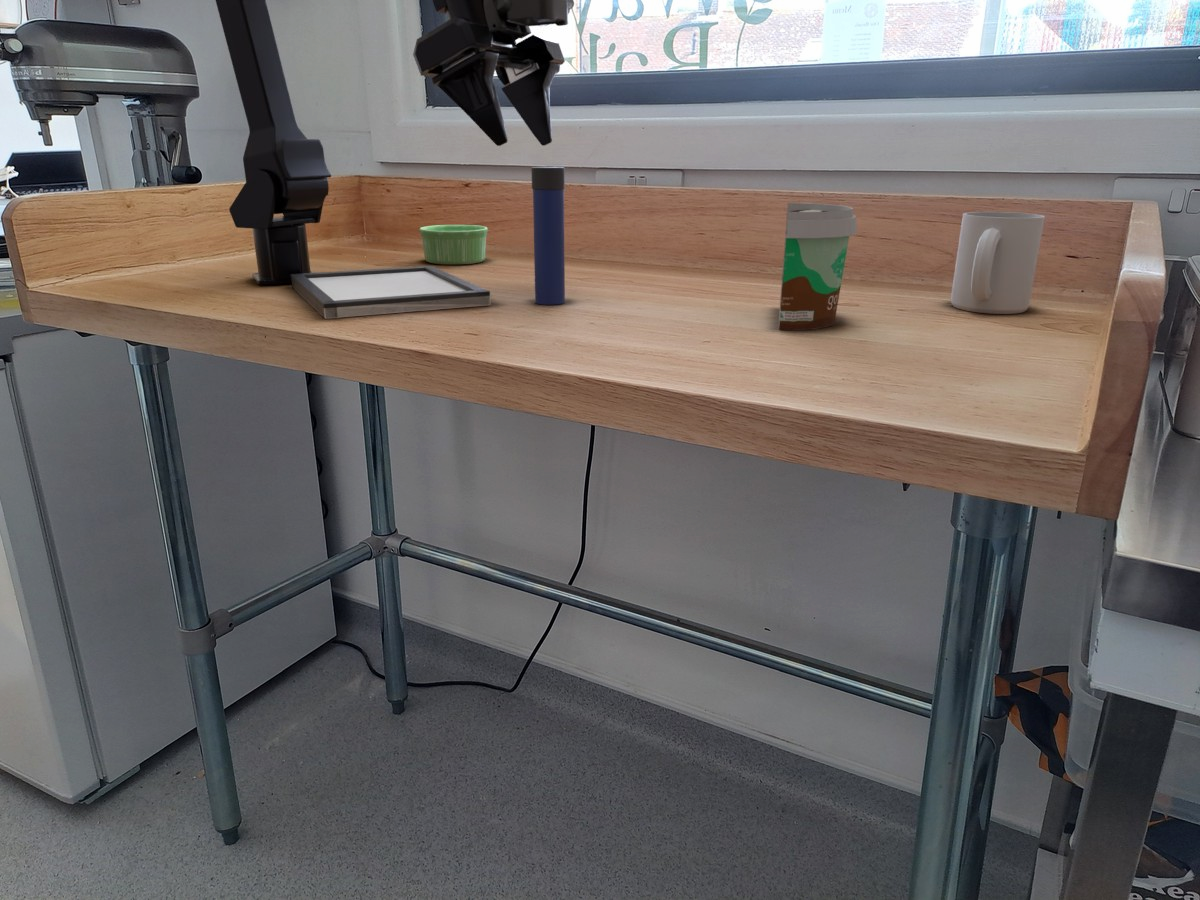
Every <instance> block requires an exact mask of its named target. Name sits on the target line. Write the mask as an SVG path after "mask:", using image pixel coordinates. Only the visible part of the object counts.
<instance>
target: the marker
mask: <svg viewBox="0 0 1200 900" xmlns="http://www.w3.org/2000/svg"><path fill="white" fill-rule="evenodd" d="M565 180H566V168H565V167H563V166H532V167H531V189H532V208H533V209H532V211H533V212H532V213H533V215H532V216H533V217H532V218H533V256H534V257H533V260H534V263H533V265H534V296H535V297H534V303H536V304H537V305H544V306H555V305H562V304H565V302H566V279H565V277H566V276H565V275H566V273H565V272H566V271H565V269H566V268H565V263H566V262H565V261H566V260H565V189H566V181H565Z"/></svg>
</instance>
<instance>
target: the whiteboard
mask: <svg viewBox="0 0 1200 900" xmlns="http://www.w3.org/2000/svg"><path fill="white" fill-rule="evenodd" d="M291 281H292V283H291V287H292V288H293V289H294V290H295V292H297V294H299V295H300V296H301V297H302V298H303V299H304V300H305V301H306V302H307V303H308V304H309V305H311V307H312V308H314V310H315V311H316V312H318V314H320V315H321V316H322V317H323V318H324V319H325V320H326V319H327V320H329V319H339V318H350V317H364V316H378V315H388V314H389V315H390V314H400V313H411V312H412V313H413V312H423V311H437V310H449V309H461V308H472V307H474V308H475V307H486V306H491V304H492V303H491V291H490V290H487V289H485V288H483V287H481V286H478V285H476V284H474V283H472V282H470V281H467V280H465V279H463V278H460V277H458V276H456V275H454V274H451V273H449V272H446V271H444V270H442V269H440V268H437V267H435V266H434V265H421V266H420V265H419V266H406V267H390V268H370V269H356V270H355V269H353V270H339V271H338V270H337V271H319V272H313V273H302V274H291Z"/></svg>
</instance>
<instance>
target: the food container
mask: <svg viewBox="0 0 1200 900" xmlns="http://www.w3.org/2000/svg"><path fill="white" fill-rule="evenodd" d="M786 207H787V208H786V209H787V210H786V221H785V232H784V233H785V235H784V246H783V247H784V248H783V261H782V274H781V287H780V299H779V300H780V301H779V315H778V316H779V318H778V330H780V331H782V330H787V331H797V330H798V331H799V330H801V331H803V330H815V329H823V328H827V327H830V326H833V325H834V324H835V322H836V316H837V311H838V305H839V298H840V294H841V287H842V281H843V276H844V270H845V263H846V259H847V252H848V246H849V240H850V236H851V237H852V236H856V235H858V225H857V215H854V208H853V207H852V206H847V205H840V204H829V203H813V202H812V203H811V202H787V206H786Z"/></svg>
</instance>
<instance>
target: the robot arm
mask: <svg viewBox="0 0 1200 900" xmlns="http://www.w3.org/2000/svg"><path fill="white" fill-rule="evenodd" d="M432 3H433V6H434V8H435V11H436V12H437V13H441V14H445V15H446V16H447V19H448V20H447V21H445V22H443V23H442V24H440V25H438V26H437V27H435V28H433V29H431V30H430V31H428V32H427V33H425V34H423V35H422V36H420V37H418V38H416V42H415V45H414V49H413V53H412V55H413V58H414V61H415V64H416V67H417V69H418V71H419V74H420V76H421V77H422V76H423V77H430V78H431V79H430V81H431V84H432V85H433V86H435V87H436V86H437V87H438V88H439V89H440V90H441V91H442V92H443V93H445V94H446V95H447V97H449V98H450V99H451V100H452V101H453V103H455V104H456V105H457V106H458V107H459V108H460V109H461V110H462V111H463V112H464V113H465V114H466V115H467V116H468V118H470V119H471V120H472V121H473V122H474V124H475V125H477V127H478V128H479V129H480V130H481V131H482V132H483V133H484V134H485V135H486V136H487V137H488V138H489V139H490V141H492V143H494V145H496V146H497V147H502V146H503V145H505V144H507V143H508V141H509V139H508V134H507V129H506V125H505V120H504V117H503V112H502V109H501V104H500V100H499V97H498V93H497V89H496V86H495V83H494V82H495V81H494V76H495V73H496V76H497V78H498V80H499V81H500V82H501V83H502V84H503V87H502V88H501V91H502V93H503V94H504V95H505V96H506V98H507V99H508V101H509V102H510V104H512V106H513V107H514V109H515V111H516V112H517V114H518V116H519V117H520V118H521V119H522V120H523V122H524V124H525V125H526V127H527V128H528V129H529V130H530V132H531V134H532V135H533V136H534V137H535V138H536V140H537V141H538V143H539V144H540V145H541V146H542V147H543V146H547V145H549V144H552V142H553V133H552V131H553V130H552V119H551V118H552V117H551V102H550V101H551V98H550V96H551V94H550V93H551V91H550V89H551V84H552V82H553V80H554V79H555V76H556V75H558V73H559V72H560V71H561V66H562V65H563V64H564V63H565V61H566V60H565V56H564V54H563V51H562V48H561V45H560V43H559V42H557V41H555V40H553V39H551V38H548V37H545V36H540V35H538V34H532V30H531V28H530V27H537V26H546V25H556V26H558V27H561V26H567V25H569V14H570V11H571V10H572V9H573V8H574V7H575V2H574V0H432ZM215 4H216V7H217V8H216V9H217V11H218V16H219V20H220V23H221V27H222V31H223V33H224V39H225V42H226V45H227V49H228V53H229V57H230V61H231V64H232V69H233V73H234V77H235V81H236V84H237V88H238V91H239V95H240V98H241V99H240V100H241V103H242V106H243V110H244V114H245V117H246V121H247V125H248V130H249V132H248V133H249V134H248V138H247V141H246V144H245V149H244V152H243V157H242V163H243V169H244V177H245V183H244V185H243V186H242V188H241V189H240V191H239V192H238V194H237V196H236V197H235V198H234V200H233V202H232V203H231V205H230V206H229V210H228V211H229V213H230V216H231V218H232V222H233V224H234V226H235V227H236V228H237V229H238V228H239V229H252V235H253V236H252V237H253V243H254V251H255V258H256V266H257V272H253V273H252V279H254V280H255V282H256V284H258V285H276V284H278V285H279V284H290V283H291V284H292V281H291V274H302V273H314V272H313V271H311V262H310V253H309V243H308V236H307V226H306V224H320V222H321V218H322V212H323V207H324V202H325V200H326V197H327V196H329V187H330V186H329V181H328V178H331V177H332V174H331V172H330V171H329V169H328V166H327V163H326V159H325V151H324V146H323V144H322V141H321V139H318V138H307V136H306V135H305V133H303V132H302V130H301V129H300V128H299V125H298V124H297V123H298V122H297V120H296V117H295V116H296V115H295V113H294V108H293V104H292V100H291V96H290V92H289V87H288V84H287V81H286V80H287V79H286V77H285V72H284V68H283V65H282V60H281V57H280V51H279V48H278V44H277V40H276V37H275V33H274V32H275V31H274V28H273V23H272V20H271V16H270V11H269V8H268V4H267V1H266V0H215ZM530 34H532V35H530ZM529 35H530V36H529ZM527 36H528V37H527ZM523 38H524V39H523ZM519 39H522V40H521V41H519V42H517V40H519ZM281 214H282V215H281ZM275 215H280V216H275Z"/></svg>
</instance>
